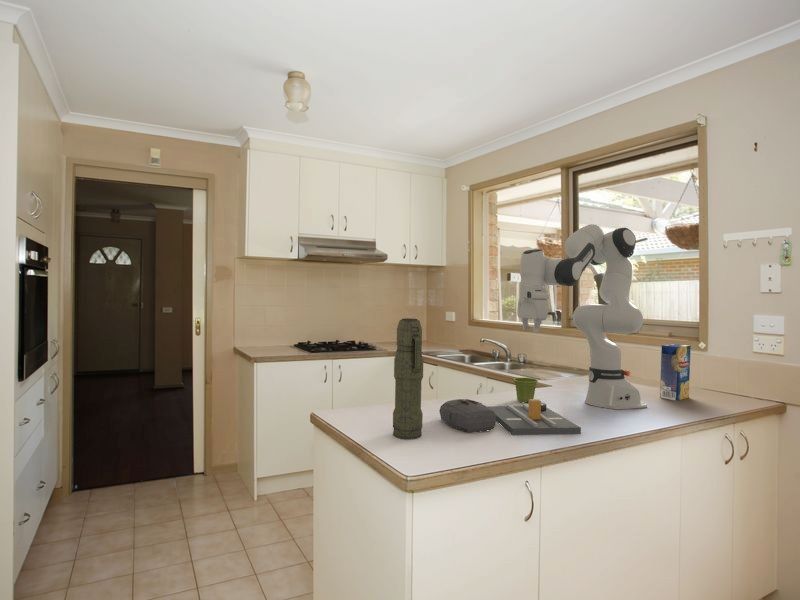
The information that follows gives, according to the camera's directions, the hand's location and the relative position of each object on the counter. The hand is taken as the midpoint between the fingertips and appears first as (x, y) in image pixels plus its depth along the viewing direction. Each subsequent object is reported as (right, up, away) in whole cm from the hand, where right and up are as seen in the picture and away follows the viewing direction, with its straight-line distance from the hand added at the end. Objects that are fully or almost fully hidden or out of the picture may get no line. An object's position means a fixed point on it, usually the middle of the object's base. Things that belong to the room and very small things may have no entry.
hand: (530, 331), depth 184 cm
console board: (-4, -30, -16) cm, 34 cm away
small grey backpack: (-27, -30, -20) cm, 44 cm away
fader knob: (-4, -27, -20) cm, 34 cm away
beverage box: (+68, -30, +27) cm, 79 cm away
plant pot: (+2, -29, +15) cm, 33 cm away
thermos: (-46, -29, -33) cm, 64 cm away
